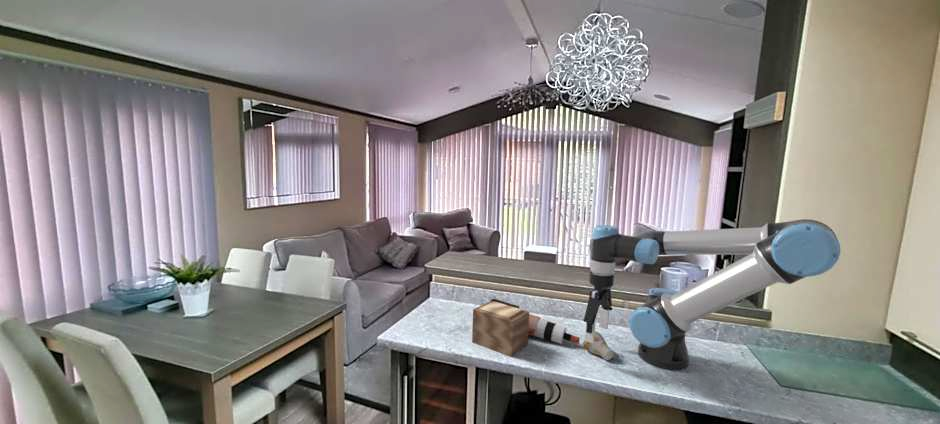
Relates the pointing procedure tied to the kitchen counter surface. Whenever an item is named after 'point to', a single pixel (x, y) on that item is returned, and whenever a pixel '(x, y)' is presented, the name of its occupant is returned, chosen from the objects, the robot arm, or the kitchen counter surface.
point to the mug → (599, 347)
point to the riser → (500, 327)
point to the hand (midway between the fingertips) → (596, 334)
